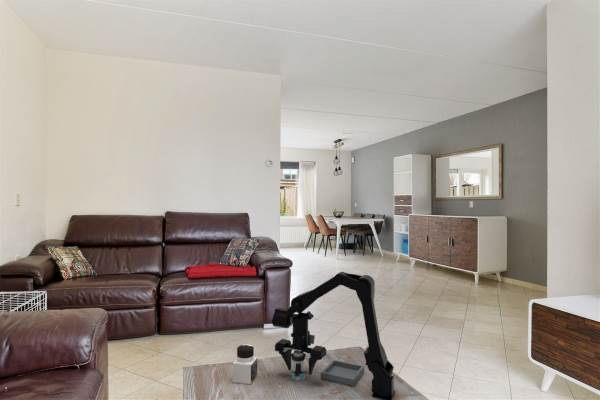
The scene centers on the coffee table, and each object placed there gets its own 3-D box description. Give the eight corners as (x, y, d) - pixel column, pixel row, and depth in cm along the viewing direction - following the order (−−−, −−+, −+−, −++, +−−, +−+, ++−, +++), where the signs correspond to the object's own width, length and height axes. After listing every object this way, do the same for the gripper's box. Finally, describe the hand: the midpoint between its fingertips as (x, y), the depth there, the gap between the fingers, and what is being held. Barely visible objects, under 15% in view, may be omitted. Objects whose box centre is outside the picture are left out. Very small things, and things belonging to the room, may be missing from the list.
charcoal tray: (364, 372, 141) (364, 365, 141) (353, 386, 130) (353, 379, 130) (333, 365, 147) (333, 359, 147) (320, 379, 135) (320, 372, 136)
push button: (308, 376, 138) (308, 349, 138) (309, 382, 133) (309, 354, 133) (290, 376, 138) (291, 349, 138) (290, 382, 132) (291, 354, 133)
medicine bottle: (251, 384, 131) (251, 350, 131) (232, 382, 132) (232, 349, 133) (257, 375, 138) (257, 343, 138) (239, 373, 139) (239, 341, 140)
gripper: (332, 327, 139) (331, 369, 138) (288, 320, 147) (288, 359, 147) (320, 336, 129) (320, 381, 128) (274, 328, 137) (273, 370, 137)
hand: (300, 372), depth 135 cm, fingers open, 8 cm apart
